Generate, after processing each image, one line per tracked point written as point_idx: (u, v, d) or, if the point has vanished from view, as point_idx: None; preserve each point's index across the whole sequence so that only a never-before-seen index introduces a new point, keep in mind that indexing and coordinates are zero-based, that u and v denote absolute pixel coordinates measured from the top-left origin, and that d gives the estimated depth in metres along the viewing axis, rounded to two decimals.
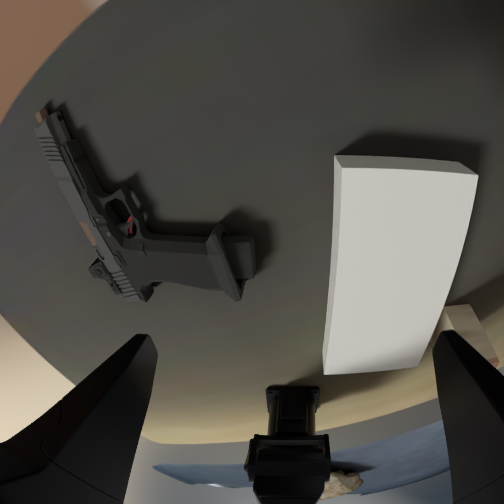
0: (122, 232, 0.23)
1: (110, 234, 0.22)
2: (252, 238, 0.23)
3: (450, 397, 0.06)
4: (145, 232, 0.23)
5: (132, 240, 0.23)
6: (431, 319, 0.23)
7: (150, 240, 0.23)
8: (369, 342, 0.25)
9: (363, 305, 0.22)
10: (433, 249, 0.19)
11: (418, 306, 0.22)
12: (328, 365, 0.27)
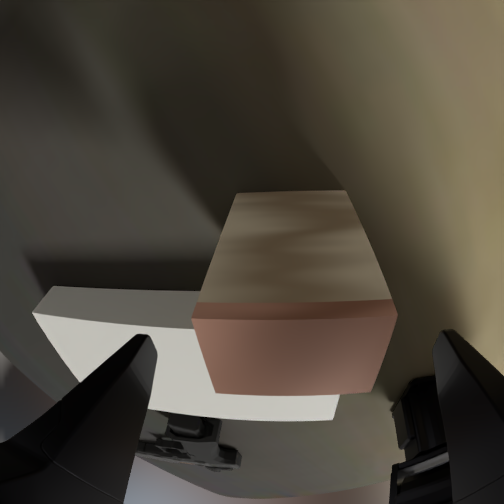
0: (184, 452, 0.31)
1: (183, 458, 0.31)
2: (170, 416, 0.26)
3: (450, 397, 0.06)
4: (183, 445, 0.30)
5: (187, 453, 0.30)
6: None
7: (184, 448, 0.29)
8: (264, 396, 0.18)
9: (200, 401, 0.19)
10: (110, 351, 0.17)
11: (189, 359, 0.16)
12: (311, 419, 0.19)
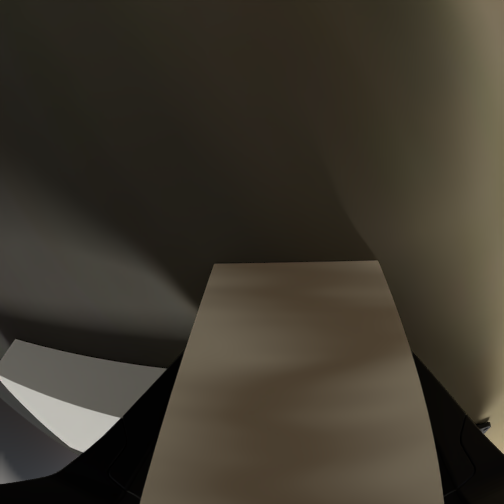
0: None
1: None
2: None
3: None
4: None
5: None
6: None
7: None
8: None
9: None
10: (79, 424, 0.12)
11: None
12: None
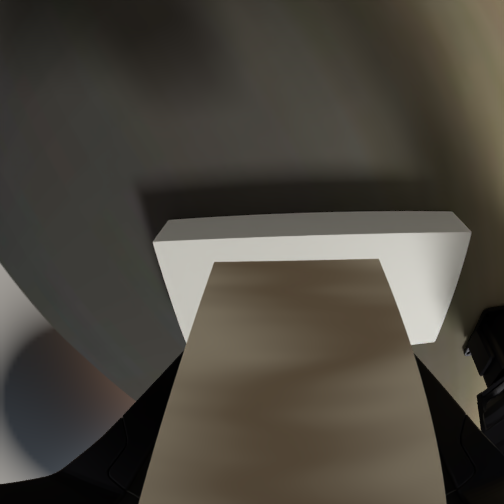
0: None
1: None
2: None
3: None
4: None
5: None
6: (369, 246, 0.17)
7: None
8: None
9: None
10: None
11: None
12: (419, 341, 0.21)
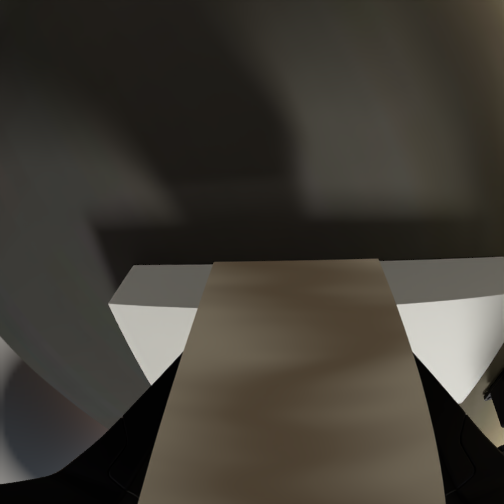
0: None
1: None
2: None
3: None
4: None
5: None
6: (411, 318, 0.11)
7: None
8: None
9: None
10: None
11: None
12: None
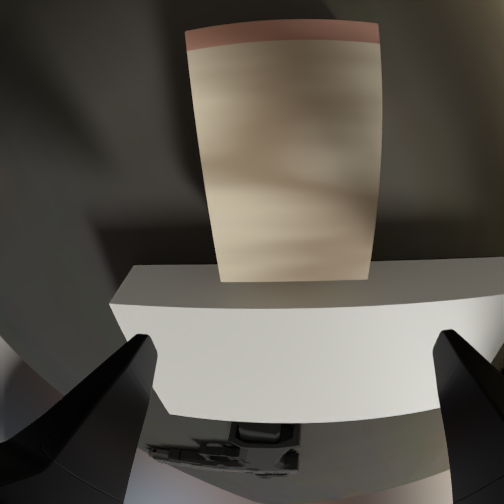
0: (234, 460, 0.27)
1: (231, 467, 0.26)
2: None
3: (450, 397, 0.06)
4: (236, 451, 0.26)
5: (239, 460, 0.26)
6: (412, 318, 0.11)
7: (240, 455, 0.25)
8: (421, 384, 0.14)
9: (342, 403, 0.15)
10: (245, 353, 0.13)
11: (367, 348, 0.12)
12: None
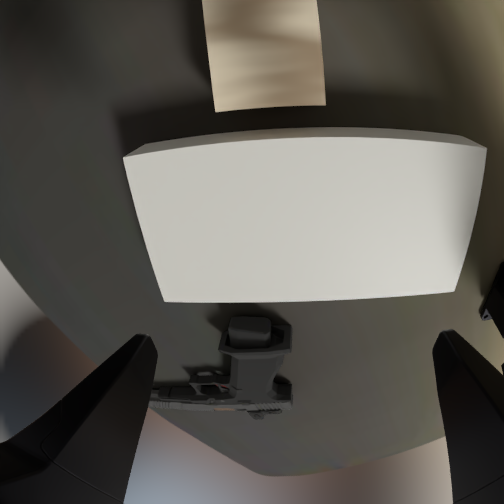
0: (225, 391, 0.29)
1: (222, 400, 0.29)
2: (231, 320, 0.23)
3: (450, 397, 0.06)
4: (228, 379, 0.28)
5: (230, 389, 0.28)
6: (374, 153, 0.13)
7: (231, 381, 0.27)
8: (405, 248, 0.16)
9: (330, 268, 0.17)
10: (234, 194, 0.15)
11: (341, 187, 0.15)
12: (437, 290, 0.17)
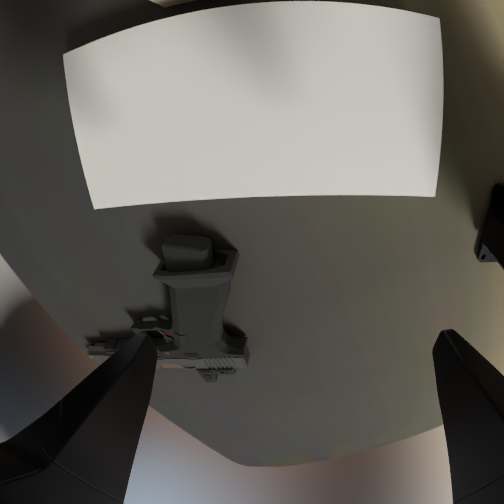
0: (170, 341, 0.26)
1: (167, 352, 0.25)
2: (166, 238, 0.20)
3: (450, 397, 0.06)
4: (172, 324, 0.25)
5: (175, 338, 0.25)
6: (302, 15, 0.10)
7: (173, 325, 0.24)
8: (357, 125, 0.13)
9: (266, 150, 0.14)
10: (157, 69, 0.12)
11: (268, 50, 0.12)
12: (411, 191, 0.14)
